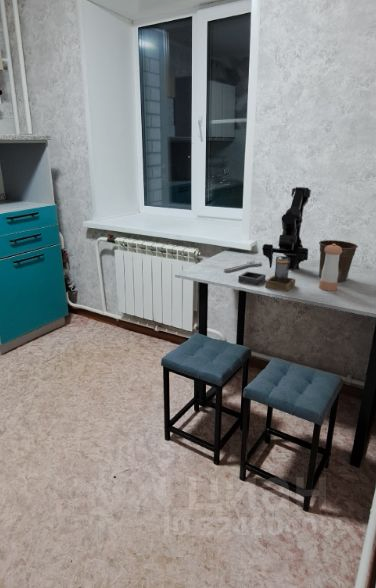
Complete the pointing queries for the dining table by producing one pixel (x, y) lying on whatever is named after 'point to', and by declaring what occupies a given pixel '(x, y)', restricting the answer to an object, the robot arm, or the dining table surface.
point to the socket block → (252, 278)
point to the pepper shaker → (330, 268)
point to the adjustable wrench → (243, 266)
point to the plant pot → (344, 257)
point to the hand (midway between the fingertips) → (281, 269)
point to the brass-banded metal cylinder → (281, 269)
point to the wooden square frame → (280, 284)
